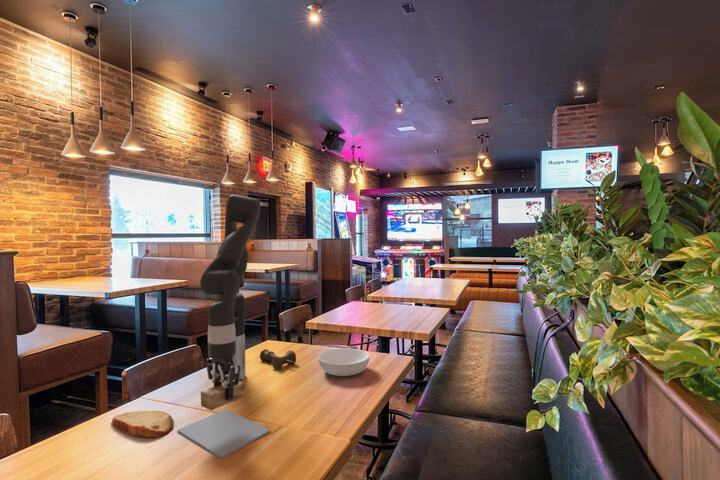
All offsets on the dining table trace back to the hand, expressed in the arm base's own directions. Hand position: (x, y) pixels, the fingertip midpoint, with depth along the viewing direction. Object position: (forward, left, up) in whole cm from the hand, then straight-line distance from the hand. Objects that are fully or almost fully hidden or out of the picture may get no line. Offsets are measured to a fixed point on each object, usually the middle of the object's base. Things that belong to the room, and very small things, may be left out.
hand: (223, 397), depth 112 cm
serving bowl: (-1, +56, -11) cm, 57 cm away
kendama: (-30, +46, -11) cm, 56 cm away
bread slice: (-23, -13, -11) cm, 29 cm away
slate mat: (0, 0, -10) cm, 10 cm away
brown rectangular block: (0, 0, -1) cm, 1 cm away
